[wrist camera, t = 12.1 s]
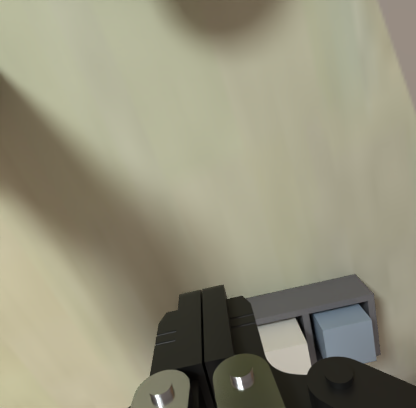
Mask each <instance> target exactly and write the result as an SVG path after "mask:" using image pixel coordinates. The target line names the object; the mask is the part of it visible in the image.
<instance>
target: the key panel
mask: <svg viewBox="0 0 416 408" xmlns="http://www.w3.org/2000/svg"><path fill="white" fill-rule="evenodd" d="M246 299H247V300H248V301H249V302H250V303H251V306H252V309H253V313H254V316H255V320H256V324H257V325H260V324H265V323H269V322H274V321H279V320H283V319H288V318H292V317H295V318H296V320H297V323H298V325H299V327H300V329H301V331H302V333H303V335H304V338H305V340H306V342H307V345H308V351H309V356H310V362H311V366H312V365H313V364H315V363H316V362H317V361H319V360H321V359H323V357H322V355H321V353H320V351H319V349H318V347H317V345H316V343H315V338H314V332H313V327H312V321H311V315H310V313H315V312H320V311H324V310H329V309H333V308H338V307H342V306H347V305H351V304H356V303H358V304H359V305H360V306H361V308H362V309H363V310H364V311H365V312H366V314H367V315H368V316H369V317H370V318H371V320H372V327H373V336H374V344H375V352H376V356H378V355H381V353H380V344H379V336H378V327H377V319H376V310H375V301H374V294H373V293H372V291H371V290H370V289H369V288H368V287H367V286H366V285H365V284H364V283H363V282H362V281H361V280H360V279H359V278H358V277H357V276H356V275H355V274H354V275H349V276H345V277H340V278H336V279H331V280H327V281H322V282H318V283H313V284H309V285H304V286H300V287H295V288H291V289H286V290H282V291H277V292H273V293H268V294H264V295H259V296H255V297H250V298H246Z"/></svg>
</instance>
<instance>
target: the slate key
mask: <svg viewBox="0 0 416 408" xmlns="http://www.w3.org/2000/svg"><path fill="white" fill-rule="evenodd" d="M310 315H311V321H312V327H313V332H314V338H315V343H316V345H317V347H318V349H319V351H320V353H321V355H322V357H323V359H324V358H328V357H334V356H340V357H347V358H351V359H354V360H357V361H359V362H361V363H368V362H372V361H376V352H375V344H374V336H373V327H372V320H371V318H370V317H369V316H368V315H367V314H366V312H365V311H364V310H363V309H362V308H361V306H360V305H359V304H358V303H356V304H351V305H347V306H342V307H338V308H333V309H329V310H324V311H320V312H315V313H310Z"/></svg>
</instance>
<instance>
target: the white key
mask: <svg viewBox="0 0 416 408" xmlns="http://www.w3.org/2000/svg"><path fill="white" fill-rule="evenodd" d="M257 327H258V331H259V335H260V338H261V342H262V345H263V349H264V353H265V356H266V359H267V360H268V362H269V363H270V364H271V365H272V366H273V367H275V368H276V369H278V370H280V371H282V372H285V373H290V374H301V375H307V373H308V371H309V369H310V368H311V362H310V356H309V351H308V345H307V342H306V340H305V338H304V335H303V333H302V331H301V329H300V327H299V325H298V323H297V320H296V318H295V317H292V318H288V319H283V320H279V321H274V322H269V323H265V324H260V325H257Z"/></svg>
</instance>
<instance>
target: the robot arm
mask: <svg viewBox="0 0 416 408" xmlns="http://www.w3.org/2000/svg"><path fill="white" fill-rule="evenodd" d="M155 344H156V346H155V349H154V355H153V360H152V366H151V372H150V377H148V378H147V379H146V380H144V381H143V382H142V383H141V384H140V386H139V387H138V388H137V390H136V392H135V394H134V397H133V401H132V404H131V406H130V407H129V408H416V386H414V385H412V384H410V383H407V382H405V381H403V380H400V379H398V378H396V377H393V376H391V375H389V374H386V373H384V372H382V371H380V370H377V369H375V368H373V367H370V366H368V365H366V364H363V363H361V362H359V361H357V360H354V359H351V358H347V357H340V356H334V357H328V358H324V359H321V360H319V361H317V362H316V363H315V364H313V365H312V366H311V368H310V369H309V371H308V373H307V375H301V374H290V373H285V372H282V371H280V370H278V369H276V368H275V367H273V366H272V365H271V364H270V363H269V362H268V360H267V359H266V356H265V353H264V349H263V345H262V342H261V338H260V335H259V331H258V327H257V324H256V320H255V316H254V313H253V309H252V306H251V303H250V302H249V301H248V300H247V299H245V298H244V297H243V296H239V297H235V298H230V299H227V296H226V292H225V288H224V285H219V286H215V287H210V288H206V289H202V291H201V290H197V291H193V292H188V293H184V294H180V295H179V304H178V310H177V311H172V312H168V313H166V314H165V316H164V317H163V318H162V320H161V321H160V323H159V326H158V331H157V337H156V343H155Z"/></svg>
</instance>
